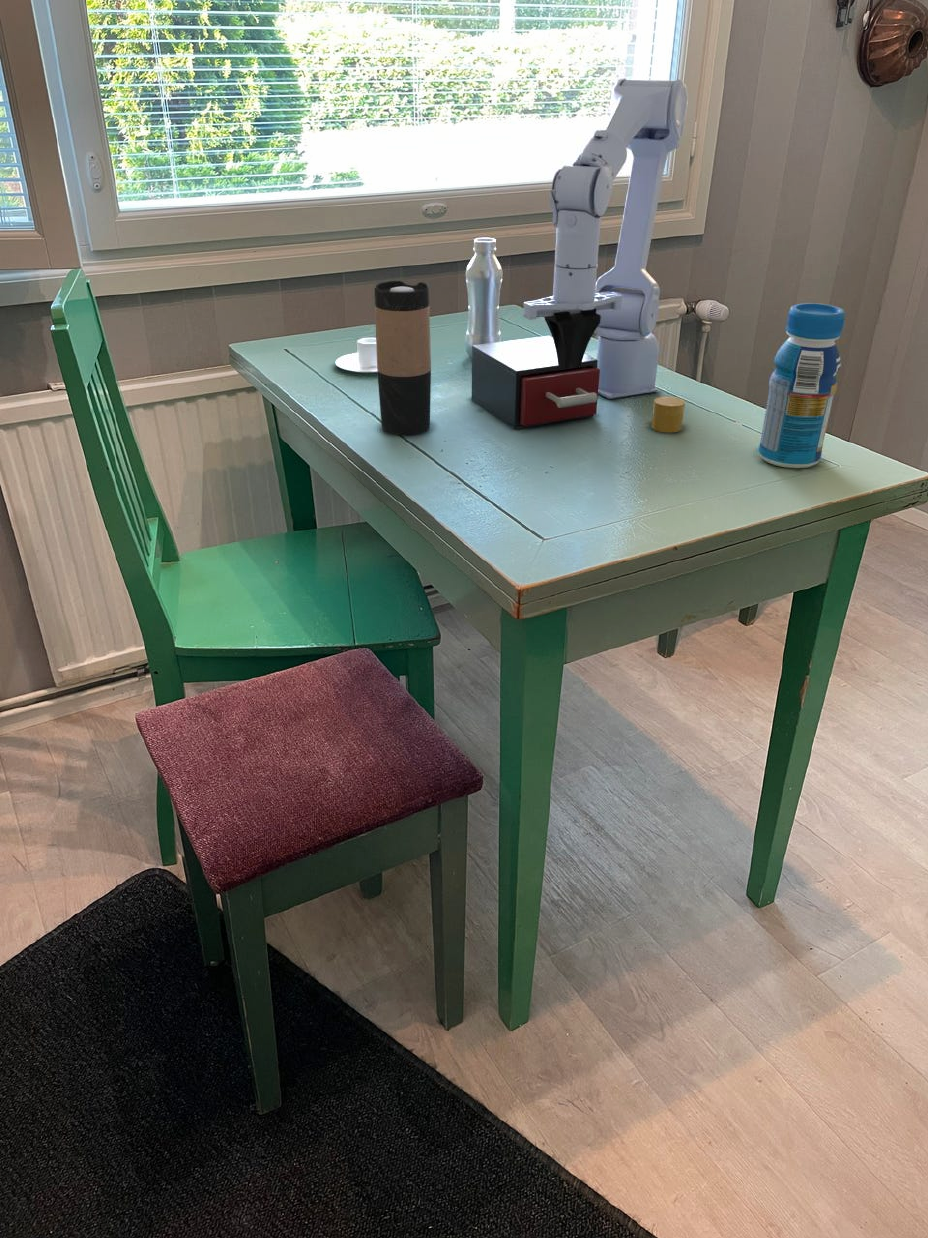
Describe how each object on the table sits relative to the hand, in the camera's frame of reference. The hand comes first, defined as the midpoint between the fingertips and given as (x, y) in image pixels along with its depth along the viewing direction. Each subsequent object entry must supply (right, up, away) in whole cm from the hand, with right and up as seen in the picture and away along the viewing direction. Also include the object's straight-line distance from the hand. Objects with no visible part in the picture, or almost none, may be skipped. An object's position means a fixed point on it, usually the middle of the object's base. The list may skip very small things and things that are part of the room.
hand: (569, 365), depth 133 cm
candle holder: (-31, +8, +31) cm, 45 cm away
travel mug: (-23, -8, +5) cm, 25 cm away
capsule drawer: (-3, -4, +9) cm, 10 cm away
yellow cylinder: (+15, -8, +6) cm, 18 cm away
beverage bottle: (+30, -14, -4) cm, 33 cm away
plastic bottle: (-11, +11, +36) cm, 39 cm away
